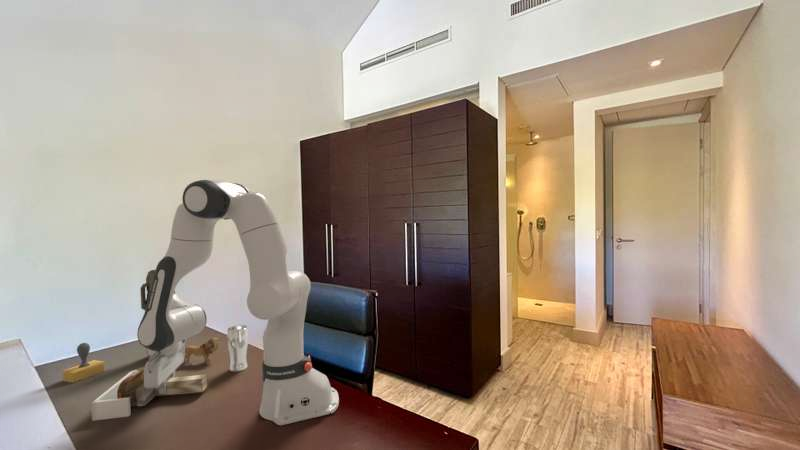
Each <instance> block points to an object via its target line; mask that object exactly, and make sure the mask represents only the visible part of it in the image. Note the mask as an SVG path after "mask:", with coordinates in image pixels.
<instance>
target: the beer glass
mask: <svg viewBox="0 0 800 450" xmlns="http://www.w3.org/2000/svg"><path fill="white" fill-rule="evenodd" d="M226 332H227V333H226V334H227V336H226V339H227V341H226V344H227V345H226V346H227V348H228V350H227V351H228V353H229V357H230V358H229V359H230V360H229V361H230V365H229V371H230V372H234V373H235V372H241V371H245V370H246V369H247V368H248V366H249V365H248V361H247V351H248V345H249V334H248V326H247V325H245V324H244V325H242V324H241V325H240V324H239V325H233V326H230V327H228V328H227V331H226Z"/></svg>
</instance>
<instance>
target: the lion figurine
mask: <svg viewBox="0 0 800 450" xmlns="http://www.w3.org/2000/svg"><path fill="white" fill-rule="evenodd" d="M219 348H220V340H219V338H217V337H212V338H210V339H208V340H207V341H206V342H203V344H202V345H200V346H199V345H198V346H195V345H189V346H187V347H186V346H185V358H184V361H183V363H185V364H186V363H187V366H192V365H193V363H192V362H190V359H191V357H192V355H194V356H195V357H203V358H204V363H205V365H209V364H210V361H211V359H210V358H209V356H211V355H214V353H215V352H216V351H218V349H219Z"/></svg>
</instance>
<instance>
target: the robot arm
mask: <svg viewBox="0 0 800 450" xmlns="http://www.w3.org/2000/svg"><path fill="white" fill-rule="evenodd" d="M181 199H182V203H181V204H179V205H178V206H177V208H176V210H175V214H174V217H173V221H172V225H171V233H170V241H169V245H168V248H167V251H166V253H165V254H164V256H163V257H162V258H161V260H159V262H158V263H157V265H156V268H155V269H154V270H155V273H154V277H153V281H152V285H151V289H150V293H149V297H148V301H147V306H146V310H144V313H143V315H142V319H141V320H140V323H139V326H138V328H137V335H136V336H137V340H138V343H140V345H141V346H143V347H144V348H145V349H146V350H147V349H148V353H147V356H148V355H150V356H151V357H150V358H149V359H150V360H147V361H146V363H145V365H144V367H145V369H144V387H145V388H146V389H152V388H159V393H160V394H164V393H165V392H166V391H167V386H166V384H165V382H166V379H167V378H173V377H175V376H176V375H175V374H176V370H177V369H178V368H179V367H180V366H181V365H182V364H183V363H184V358H185V356H186V352H185V348H186V344H185V342H187V339H189V338H191V337H193V336H195V335H196V336H197V335H198V334H200V333H202V332H203V331H204V329H205V328H206V326H207V320H208V319H207V314H206V311H205V309H203V307H202V306H200V305H198V304H193V303H190V302H188V301H185V300H183V299H181V298H180V296H179V295H178V294H177V293H176V288H177V285H178V284H179V282H180V281H181V280H182V279H184V277H186V276H187V275H188V274H190V273H192V272H193V271H195V270H196V269H199V268H200V267H201V266H203V265H204V264H205V263H207V262H208V260H209V259H210V258H211V255H212V252H213V248H214V247H213V246H214V237H215V234H214V233H215V232H214V231H215V226H216V224H217V223H218V221H220V220H232V222H233V223H234V224H235V227H236V230H237V233H238V235H239V239H240V242H241V244H242V248H243V250H244V252H245V257H246V258H247V263H248V271H249V282H250V283H249V285H250V286H249V292H248V294H247V297H246V305H247V309H248V310H249V312H250V314H251V315H252V316H253V317H255V318H257V319H259V320H264V321H267V322H266V327H265V329H264V331H263V335H262V343H263V345H262V346H263V360H262V363H261V377H262V382H263V389H262V397H261V402H260V407H259V410H258V413H259V415H260V417H262V418H264V419H265V420H268V421H271V422H274V423H275V424H276V425H278V426H284V425H288V424H292V423H296V422H300V421H305V420H310V419H313V418H318V417H323V416H326V415H331V414H333V413H335V412H336V411H337V409H338V407H339V404H340V397H339V392H338V391H337V389H335V388H334V387H332V386H331V383H330V381H329V378H328V376H327V375H326V374H324V373H322V372H321V371H319V370H317V369H315V368H314V367H313V363H312V358H311V355H308V356H307V355H305V354H304V325H305V318H306V313H307V306H308V305H307V304H308V299H309V294H310V292H311V288H312V286H311V285H312V284H311V280H310V278H309V277H308V276H307V274H306V273H304V272H302V271H300V270H299V271H298V270H288V266H287V252H288V247H287V244H286V241H285V238H284V235H283V233H282V230H281V227H280V224H279V221H278V219H277V217H276V215H275V213H274V210H273V208H272V207H271V205H270V203H269V201H268V200H267V198H266V197H265V196H264V195H263V194H261V193H258V192H252V191H250V189H249V188H248V187H246V186H245V185H243V184H241V183H236V182H235V183H234V182H229V181H225V180H217V179H215V180H213V179H212V180H209V179H200V180H196V181H193V182H191V183H189V184H187V186H186V187H185V188H184V190H183V192H182V198H181ZM174 291H175V293H174ZM330 413H331V414H330Z"/></svg>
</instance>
